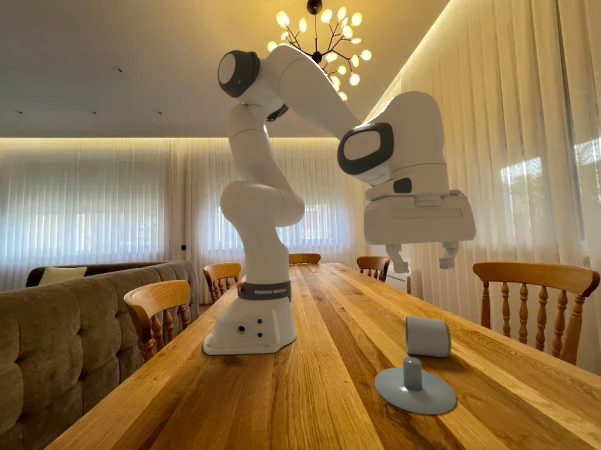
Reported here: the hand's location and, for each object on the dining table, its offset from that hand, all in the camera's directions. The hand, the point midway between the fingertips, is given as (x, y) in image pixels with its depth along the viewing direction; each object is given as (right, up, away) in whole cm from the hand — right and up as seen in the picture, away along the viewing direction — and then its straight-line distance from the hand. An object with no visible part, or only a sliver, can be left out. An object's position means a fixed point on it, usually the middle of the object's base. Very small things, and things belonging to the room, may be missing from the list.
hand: (425, 270), depth 42 cm
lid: (-2, -20, -1) cm, 20 cm away
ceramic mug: (+6, -20, +13) cm, 25 cm away
